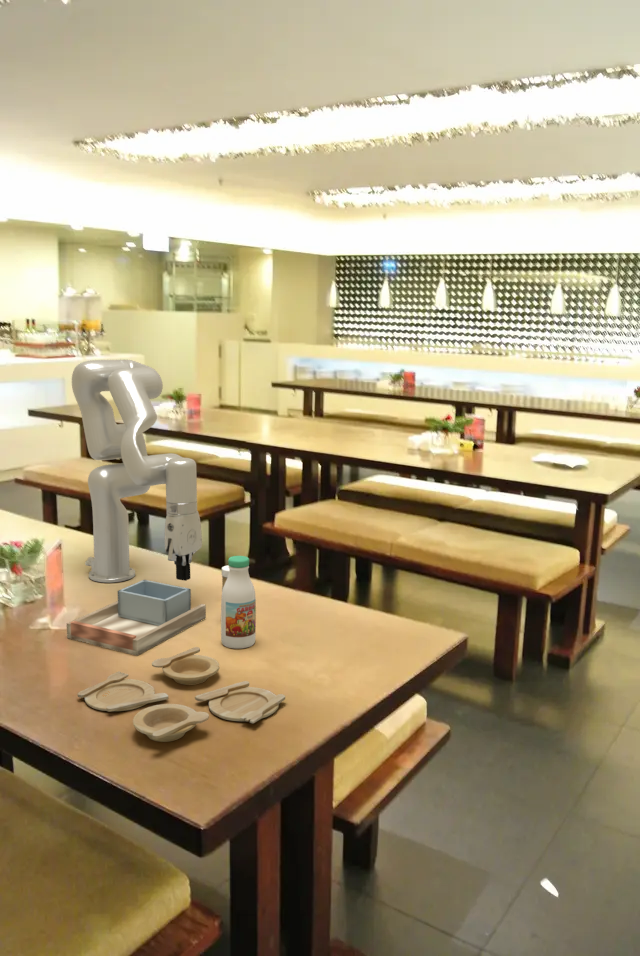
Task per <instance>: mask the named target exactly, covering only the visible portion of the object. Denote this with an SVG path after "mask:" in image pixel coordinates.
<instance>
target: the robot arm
mask: <svg viewBox="0 0 640 956" xmlns="http://www.w3.org/2000/svg"><path fill="white" fill-rule="evenodd" d="M163 386H164V385H163V380H162V378H161V375H160V373H159V372H158V371H157V370H156V369H155V368H153V367H152V366H149V365H146V364H143V363H141V362H138V361H136V360H132V359H94V360H93V359H92V360H86V361H83V362H80V363H78V364H77V365H76V366H75V367H74V369H73V371H72V374H71V387H72V393H73V396H74V399H75V400H76V402H77V406H78V408H79V410H80V415H81V419H82V424H83V425H82V426H83V429H84V430H83V431H84V436H85V441H86V446H87V451H88V453H89V456H90V457H91V458H92V459H93V460H95V461H110V460H119V459H121V461H122V462H121V463H119V462H118V463H112V464H105V465H101V466H97V467H95V468H93V469H92V470H91V471H90V472H89V474H88V476H87V477H88V478H87V486H88V491H89V495H90V500H91V507H92V508H91V509H92V529H93V531H92V532H93V533H92V534H93V557H92V556H89V557H88V558H87V560H86V561H85V563H84V564H85V566H87V567H91V570H90V571H89V572H88V578H89V579H90V580H91V581H94V582H98V583H104V584H105V583H109V584H110V583H120V582H125V581H128V580H131V579H133V578H134V577H135V576H136V570H135V569H134V568H132V567H130V535H129V534H130V532H129V531H130V530H129V529H130V527H129V513H128V511H127V509H126V507H125V506H124V504H123V503H122V501H121V499H125V498H129V497H134V496H140V495H144V494H146V493H148V491H149V490H150V488H151V486H158V485H165V502H166V503H165V505H166V517H165V525H164V551H165V554H166V555H168V556H167V560H168V561H171V562H173V563H174V565H175V576H176V577H175V578H176V580H178V581H185V582H187V581H188V580H190V579H191V563H192V561H193V560H192V559H193V555H194V554H195V553H196V552H197V551H199V550H200V549H202V545H203V538H202V537H203V536H202V522H201V518H200V514H199V511H198V488H197V487H198V486H197V482H198V481H197V480H198V479H197V462H196V461H195V460H194V459H193V458H190V457H183V456H181V455H179V454H178V453H163V454H162V453H160V454H152V455H148V450H147V446H146V445H147V444H146V440H145V436H144V435H143V434H144V432H146V431H147V430H149V429H150V428H152V427H153V426H154V425H155V424H156V422H157V419H158V415H157V412H156V410H155V408H154V406H153V404H152V402H151V400H152V399H156V398H159V397H160V396H161V395H162V393H163V388H164V387H163ZM101 392H109V393H110V395H111V397H112V399H113V402H114V404H115V407H116V408H117V410H118V414H119V415H120V418H121V420H122V422H123V423H119V424H117V422H116V419H115V414H114V409H113V407H112V405H111V403H110V401H108V399H107V398H106V397H105V396H104V395H103V394H102V393H101Z"/></svg>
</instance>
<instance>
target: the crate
mask: <svg viewBox="0 0 640 956" xmlns="http://www.w3.org/2000/svg"><path fill="white" fill-rule="evenodd" d="M191 591H192V590H191V588H188V587H183V586H177V585H173V584H168V583H163V582H158V581H155V580H154V581H153V580H148V579H142V580H139V581H138V582H136V583H133V584H131V585H128V586H126V587H124V588H121V589H118V590H117V601H118V616H119V617H123V618H128V619H132V620H136V621H141V622H145V623H149V624H154V625H158V626H160V625H162V624H164V623H166V622H168V621H170V620H171V619H173V618H175V617H177V616H179V615H181V614H183V613H185V612H187V611H189V610H191V609H192V606H191V605H192V602H191V601H192V600H191V598H192V597H191V595H192V593H191Z"/></svg>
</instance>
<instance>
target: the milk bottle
mask: <svg viewBox="0 0 640 956" xmlns="http://www.w3.org/2000/svg"><path fill="white" fill-rule="evenodd" d="M227 563H228V565H229V567H228V568H229V575H228V578H227V580H226V582H225V584H224V587H223V590H222V589H221V602H220V603H221V605H220V606H221V609H220V610H221V613H220V616H221V617H220V628H221V629H220V632H221V633H220V637H221V639H220V641H221V644H222V645H223V646H224V647H226V648H230V649H238V650H239V649H246V648H249V647H252V646H253V645H254V644H255V642H256V634H257V633H256V627H257V626H256V623H257V622H256V620H257V618H256V616H257V615H256V614H257V612H256V611H257V610H256V609H257V607H256V605H257V604H256V601H257V600H256V591H255V590H256V589H255V587H254V583H253V582H252V580H251V577H250V574H249V573H250V572H249V568H250V566H249V565H250V558H249V557H248V556H245V555H233V556H230V557H229V558H228V560H227Z"/></svg>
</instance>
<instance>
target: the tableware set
mask: <svg viewBox="0 0 640 956" xmlns="http://www.w3.org/2000/svg"><path fill="white" fill-rule="evenodd" d="M200 651H201V649H200V647H198V646H194V647H192V648H189V649H187V650H183V651H182V652H180V653H177V654H175V655H172V656H170V657H162V658H156V659H155V660H153V661H152V662H151V666H152V667H153V668H159V669H160V668H161V670H162V673H163V675H165V676H166V677H168V678H170V679H173V680H174V681H175V682H176V683H178V684H181V685H185V686H194V685H198V684H202V683H204V682H206V681H207V680H208V679H209V677H212V676H214V675H215V674H216V673H218V672H219V670H220V663H219V661H218V660H217V659H215V658H213V657H210V656H208V655H203V654H201V655H200V654H198V653H200ZM128 677H129V674H128V673H125V672H121V671H116V672H114V673H112V674H109V675H108V676H107V679H106V680H103V681H101V682H98V683H97V684H95V685H92V686H89V687H87V688H85V689H83V690H80V691H79V692H77V697H78V698H84V701H85V703H86V705H88V707H91V708H93V709H95V710H98V711H104V712H105V711H106V712H124V711H132V710H135V709H139V708H140V707H143V706H145V705H147V704H151V703H155V702H160V701H165V700H169V694H168V693H165V692H158V693H156V692H155V691H156V690H155V687H154V686H152V684H149V683H148V682H146V681H143V680H139V679H132V678H128ZM108 691H109V692H110V693H109V692H108ZM105 693H108V694H109V695H108V694H105ZM103 694H104V695H107V696H106V697H105V696H104V697H103V696H102V695H103ZM194 700H195V701H197V702H201V703H202V702H205V701H208V707H209V710H210V712H211V713H212V714H213V715H214V716H216V717H219V718H220V719H223V720H227V721H233V722H249V723H250V724H255V723H257V722H258V721H260V720H262V719H264V718H268V717H269V716H271V715H272V714H274V713H276V712H277V711H278V709H279V707H280V704H281V703H283V702H284V701H285V700H286V695H285V694H282V693H279V694H277V695H276V694H275V693H273V692H272V691H270V690H268V689H264V688H260V687H253V686H250V681H248V680H244V681H241V682H240V681H239V682H236V683H233V684H230V685H227V686H224V687H220V688H218V689H214V690H210V691H207V692H203V693H200V694H197V695H195V696H194ZM132 718H133V719H132V724H133V727H134V728H135V729H136V730H137V731H138V732H140V733H141V734H144V735H146V736H147V738H148V739H150V740H152V741H154V742H159V743H163V742H164V743H166V742H167V743H169V742H173V741H174V742H175V741H176V740H179V739H181V738H183V737H184V735H185V734H186V733H187V732H188V731H190V730H193V728H195V727H196V726H197V724H202V723H205V722H206V721H208V720H209V718H210V714H209V712H205V711H196V710H195V709H194V708H192V707H190V706H188V705H187V706H186V705H183V704H179V703H178V704H177V703H161V704H156V705H151V706H148V707H146V708H143V709H141V710H139V711H138V712H137V713H136V714H135V715H134V717H132Z"/></svg>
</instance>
